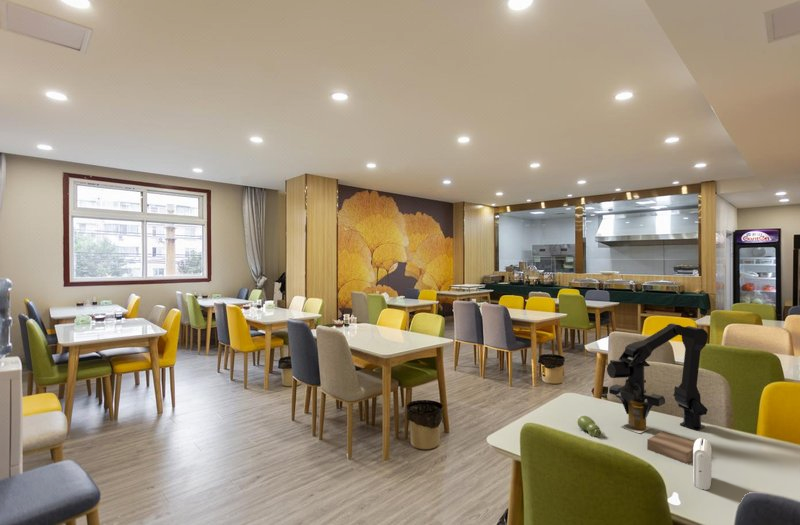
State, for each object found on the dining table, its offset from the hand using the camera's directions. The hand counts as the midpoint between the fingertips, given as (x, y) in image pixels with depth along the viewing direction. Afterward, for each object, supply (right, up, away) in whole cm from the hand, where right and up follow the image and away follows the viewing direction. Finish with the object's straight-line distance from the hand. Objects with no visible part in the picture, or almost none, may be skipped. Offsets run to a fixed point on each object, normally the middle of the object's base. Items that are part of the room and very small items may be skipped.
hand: (636, 416), depth 157 cm
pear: (-20, -5, -3) cm, 21 cm away
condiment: (0, -5, 0) cm, 5 cm away
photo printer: (-2, -5, -38) cm, 38 cm away
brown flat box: (+2, -5, -19) cm, 20 cm away
